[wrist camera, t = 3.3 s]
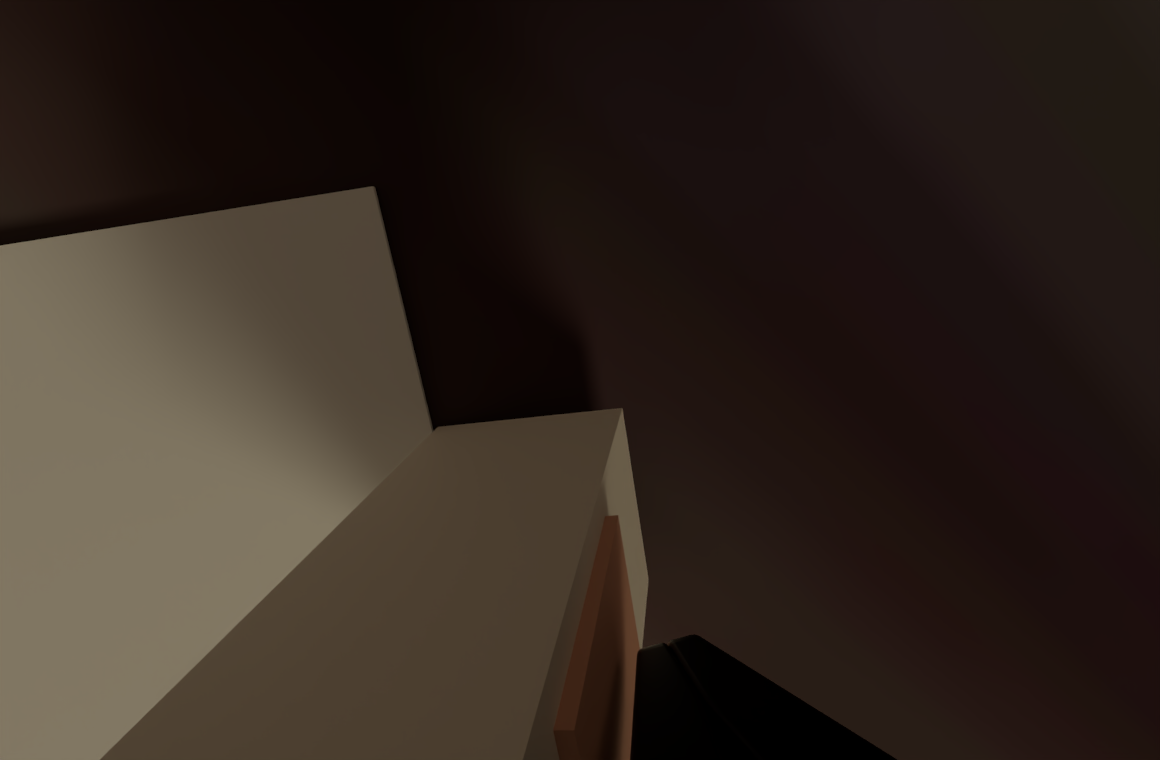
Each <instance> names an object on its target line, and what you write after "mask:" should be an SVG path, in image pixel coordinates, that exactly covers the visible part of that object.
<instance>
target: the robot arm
mask: <svg viewBox="0 0 1160 760" xmlns="http://www.w3.org/2000/svg"><path fill="white" fill-rule="evenodd" d="M630 760H897V759H895V758H894V757H892V756H891V755H889V754H887V753H886V752H884V751H883V750H881V749H879V748H878V747H876V746H875V745H873V744H871V743H870V742H868V741H867V740H865V739H863V738H862V737H860V736H859V735H857V734H855V733H854V732H852V731H851V730H849V729H847V728H846V727H844V726H843V725H841V724H839V723H838V722H836V721H835V720H833V719H831V718H830V717H828V716H827V715H825V714H823V713H822V712H820V711H819V710H817V709H815V708H814V707H812V706H810V705H809V704H807V703H806V702H804V701H802V700H801V699H799V698H798V697H796V696H794V695H793V694H791V693H790V692H788V691H786V690H785V689H783V688H782V687H780V686H778V685H777V684H775V683H774V682H772V681H770V680H769V679H767V678H766V677H764V676H762V675H761V674H759V673H758V672H756V671H754V670H753V669H751V668H750V667H748V666H746V665H745V664H743V663H742V662H740V661H738V660H737V659H735V658H734V657H732V656H730V655H729V654H727V653H726V652H724V651H722V650H721V649H719V648H718V647H716V646H714V645H713V644H711V643H710V642H708V641H706V640H705V639H703V638H702V637H700V636H698V635H689V636H685V637H681V638H678V639H674V640H671V641H669V643H668V645H667V644H665V643H659V644H656V645H652V646H649V647H645V648H641V649H640V650H639V651H638V652H637V660H636V675H635V691H634V706H633V722H632V737H631V753H630Z"/></svg>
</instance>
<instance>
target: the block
mask: <svg viewBox="0 0 1160 760" xmlns="http://www.w3.org/2000/svg"><path fill="white" fill-rule="evenodd" d="M647 589H648V573H647V567H646V560H645V554H644V547H643V540H642V534H641V527H640V521H639V514H638V508H637V501H636V495H635V488H634V481H633V475H632V468H631V462H630V455H629V449H628V442H627V435H626V429H625V422H624V416H623V409H622V408H618V409H608V410H598V411H589V412H579V413H569V414H559V415H549V416H539V417H530V418H520V419H510V420H500V421H490V422H481V423H471V424H461V425H451V426H441V427H437V428H436V429H435V430H434V431H433V432H432V433H431V434H430V435H429V436H428V437H427V438H426V439H425V440H424V441H423V442H422V443H421V444H420V445H419V446H418V447H417V448H416V449H415V450H414V451H413V452H412V453H411V454H410V455H409V456H408V457H407V458H406V459H405V460H404V461H403V462H402V463H401V464H400V465H399V466H398V467H397V468H396V469H395V470H394V471H393V472H392V473H391V474H390V475H389V476H388V477H387V478H386V479H385V480H383V481H382V482H381V483H380V484H379V485H378V486H377V487H376V488H375V489H374V490H373V491H372V492H371V493H370V494H369V495H368V496H367V497H366V498H365V499H364V500H363V501H362V502H361V503H360V504H359V505H358V506H357V507H356V508H355V509H354V510H353V511H352V512H351V513H350V514H349V515H348V516H347V517H346V518H345V519H344V520H343V521H342V522H341V523H340V524H339V525H338V526H337V527H336V528H335V529H334V530H333V531H332V532H331V533H330V534H329V535H328V536H327V537H326V538H325V539H324V540H323V541H322V542H320V543H319V544H318V545H317V546H316V547H315V548H314V549H313V550H312V551H311V552H310V553H309V554H308V555H307V556H306V557H305V558H304V559H303V560H302V561H301V562H300V563H299V564H298V565H297V566H296V567H295V568H294V569H293V570H292V571H291V572H290V573H289V574H288V575H287V576H286V577H285V578H284V579H283V580H282V581H281V582H280V583H279V584H278V585H277V586H276V587H275V588H274V589H273V590H272V591H271V592H270V593H269V594H268V595H267V596H266V597H265V598H264V599H263V600H262V601H261V602H260V603H259V604H258V605H256V606H255V607H254V608H253V609H252V610H251V611H250V612H249V613H248V614H247V615H246V616H245V617H244V618H243V619H242V620H241V621H240V622H239V623H238V624H237V625H236V626H235V627H234V628H233V629H232V630H231V631H230V632H229V633H228V634H227V635H226V636H225V637H224V638H223V639H222V640H221V641H220V642H219V643H218V644H217V645H216V646H215V647H214V648H213V649H212V650H211V651H210V652H209V653H208V654H207V655H206V656H205V657H204V658H203V659H202V660H201V661H200V662H199V663H198V664H197V665H196V666H195V667H194V668H192V669H191V670H190V671H189V672H188V673H187V674H186V675H185V676H184V677H183V678H182V679H181V680H180V681H179V682H178V683H177V684H176V685H175V686H174V687H173V688H172V689H171V690H170V691H169V692H168V693H167V694H166V695H165V696H164V697H163V698H162V699H161V700H160V701H159V702H158V703H157V704H156V705H155V706H154V707H153V708H152V709H151V710H150V711H149V712H148V713H147V714H146V715H145V716H144V717H143V718H142V719H141V720H140V721H139V722H138V723H137V724H136V725H135V726H134V727H133V728H132V729H131V730H129V731H128V732H127V733H126V734H125V735H124V736H123V737H122V738H121V739H120V740H119V741H118V742H117V743H116V744H115V745H114V746H113V747H112V748H111V749H110V750H109V751H108V752H107V753H106V754H105V755H104V756H103V757H102V758H101V759H100V760H630V753H631V737H632V722H633V706H634V691H635V675H636V660H637V652H638V651H639V650H640V649H641V648H642V642H643V632H644V621H645V611H646V600H647Z"/></svg>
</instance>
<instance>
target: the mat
mask: <svg viewBox="0 0 1160 760" xmlns="http://www.w3.org/2000/svg"><path fill="white" fill-rule="evenodd" d="M433 431H434V430H433V426H432V422H431V418H430V414H429V410H428V405H427V401H426V397H425V393H424V389H423V385H422V380H421V376H420V372H419V368H418V364H417V360H416V355H415V351H414V347H413V343H412V339H411V335H410V330H409V326H408V322H407V318H406V314H405V310H404V305H403V301H402V297H401V293H400V289H399V285H398V280H397V276H396V272H395V268H394V264H393V260H392V255H391V251H390V247H389V243H388V239H387V235H386V230H385V226H384V222H383V218H382V214H381V210H380V205H379V201H378V197H377V193H376V189H375V187H374V186H371V187H365V188H359V189H352V190H346V191H340V192H334V193H327V194H321V195H315V196H308V197H302V198H296V199H290V200H283V201H277V202H271V203H265V204H258V205H252V206H246V207H239V208H233V209H227V210H221V211H214V212H208V213H202V214H196V215H189V216H183V217H177V218H170V219H164V220H158V221H152V222H145V223H139V224H133V225H127V226H120V227H114V228H108V229H101V230H95V231H89V232H83V233H76V234H70V235H64V236H57V237H51V238H45V239H39V240H32V241H26V242H20V243H14V244H7V245H1V246H0V760H100V759H101V758H102V757H103V756H104V755H105V754H106V753H107V752H108V751H109V750H110V749H111V748H112V747H113V746H114V745H115V744H116V743H117V742H118V741H119V740H120V739H121V738H122V737H123V736H124V735H125V734H126V733H127V732H128V731H129V730H131V729H132V728H133V727H134V726H135V725H136V724H137V723H138V722H139V721H140V720H141V719H142V718H143V717H144V716H145V715H146V714H147V713H148V712H149V711H150V710H151V709H152V708H153V707H154V706H155V705H156V704H157V703H158V702H159V701H160V700H161V699H162V698H163V697H164V696H165V695H166V694H167V693H168V692H169V691H170V690H171V689H172V688H173V687H174V686H175V685H176V684H177V683H178V682H179V681H180V680H181V679H182V678H183V677H184V676H185V675H186V674H187V673H188V672H189V671H190V670H191V669H192V668H194V667H195V666H196V665H197V664H198V663H199V662H200V661H201V660H202V659H203V658H204V657H205V656H206V655H207V654H208V653H209V652H210V651H211V650H212V649H213V648H214V647H215V646H216V645H217V644H218V643H219V642H220V641H221V640H222V639H223V638H224V637H225V636H226V635H227V634H228V633H229V632H230V631H231V630H232V629H233V628H234V627H235V626H236V625H237V624H238V623H239V622H240V621H241V620H242V619H243V618H244V617H245V616H246V615H247V614H248V613H249V612H250V611H251V610H252V609H253V608H254V607H255V606H256V605H258V604H259V603H260V602H261V601H262V600H263V599H264V598H265V597H266V596H267V595H268V594H269V593H270V592H271V591H272V590H273V589H274V588H275V587H276V586H277V585H278V584H279V583H280V582H281V581H282V580H283V579H284V578H285V577H286V576H287V575H288V574H289V573H290V572H291V571H292V570H293V569H294V568H295V567H296V566H297V565H298V564H299V563H300V562H301V561H302V560H303V559H304V558H305V557H306V556H307V555H308V554H309V553H310V552H311V551H312V550H313V549H314V548H315V547H316V546H317V545H318V544H319V543H320V542H322V541H323V540H324V539H325V538H326V537H327V536H328V535H329V534H330V533H331V532H332V531H333V530H334V529H335V528H336V527H337V526H338V525H339V524H340V523H341V522H342V521H343V520H344V519H345V518H346V517H347V516H348V515H349V514H350V513H351V512H352V511H353V510H354V509H355V508H356V507H357V506H358V505H359V504H360V503H361V502H362V501H363V500H364V499H365V498H366V497H367V496H368V495H369V494H370V493H371V492H372V491H373V490H374V489H375V488H376V487H377V486H378V485H379V484H380V483H381V482H382V481H383V480H385V479H386V478H387V477H388V476H389V475H390V474H391V473H392V472H393V471H394V470H395V469H396V468H397V467H398V466H399V465H400V464H401V463H402V462H403V461H404V460H405V459H406V458H407V457H408V456H409V455H410V454H411V453H412V452H413V451H414V450H415V449H416V448H417V447H418V446H419V445H420V444H421V443H422V442H423V441H424V440H425V439H426V438H427V437H428V436H429V435H430V434H431V433H432V432H433Z"/></svg>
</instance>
